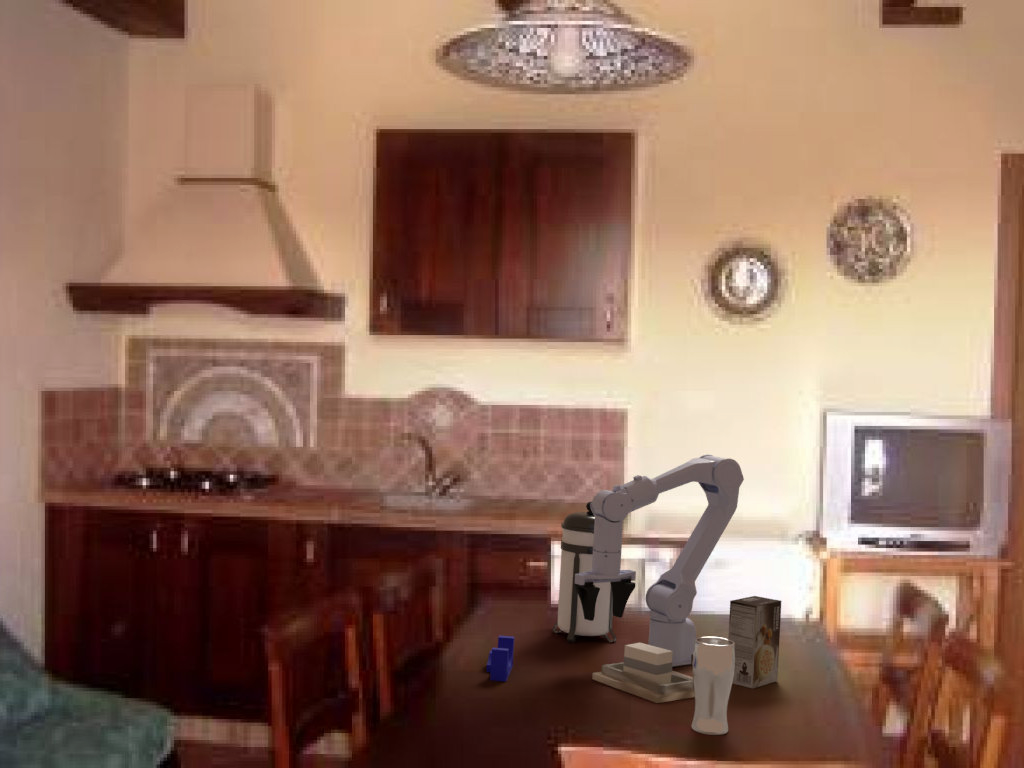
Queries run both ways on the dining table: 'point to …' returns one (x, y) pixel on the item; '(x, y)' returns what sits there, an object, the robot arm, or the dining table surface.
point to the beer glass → (712, 683)
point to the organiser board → (646, 684)
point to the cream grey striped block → (648, 662)
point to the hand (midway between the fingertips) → (603, 618)
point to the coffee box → (755, 640)
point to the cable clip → (501, 659)
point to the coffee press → (574, 562)
